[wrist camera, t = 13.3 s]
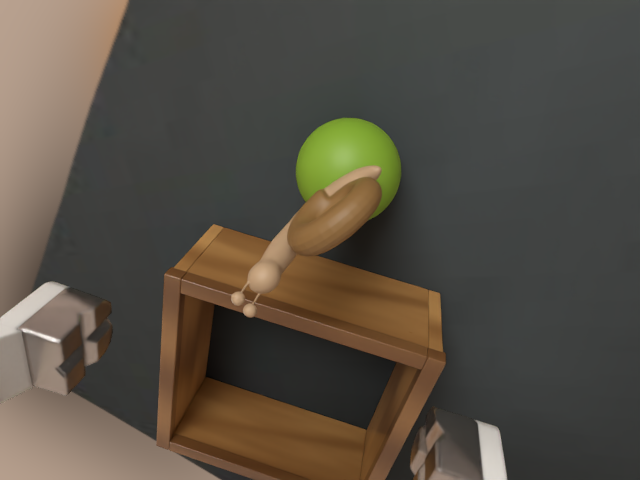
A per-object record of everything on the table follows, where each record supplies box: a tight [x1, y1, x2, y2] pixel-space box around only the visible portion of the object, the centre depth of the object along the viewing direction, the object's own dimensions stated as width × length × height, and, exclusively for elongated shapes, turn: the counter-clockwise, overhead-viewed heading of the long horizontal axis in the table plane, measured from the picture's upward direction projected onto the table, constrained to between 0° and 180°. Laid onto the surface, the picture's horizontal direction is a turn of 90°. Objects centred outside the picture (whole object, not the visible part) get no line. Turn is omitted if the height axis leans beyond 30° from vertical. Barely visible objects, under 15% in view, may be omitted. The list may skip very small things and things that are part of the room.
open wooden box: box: [157, 224, 446, 480], centre depth 31 cm, size 16×16×6 cm
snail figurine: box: [231, 118, 401, 318], centre depth 21 cm, size 5×6×12 cm
